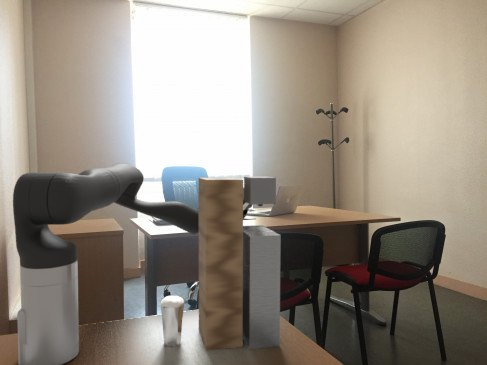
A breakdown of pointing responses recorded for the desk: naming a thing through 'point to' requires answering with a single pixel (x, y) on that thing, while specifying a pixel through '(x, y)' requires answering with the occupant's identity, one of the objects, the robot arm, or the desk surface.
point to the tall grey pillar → (261, 287)
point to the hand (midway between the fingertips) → (244, 184)
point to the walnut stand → (221, 262)
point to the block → (259, 190)
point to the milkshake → (172, 319)
